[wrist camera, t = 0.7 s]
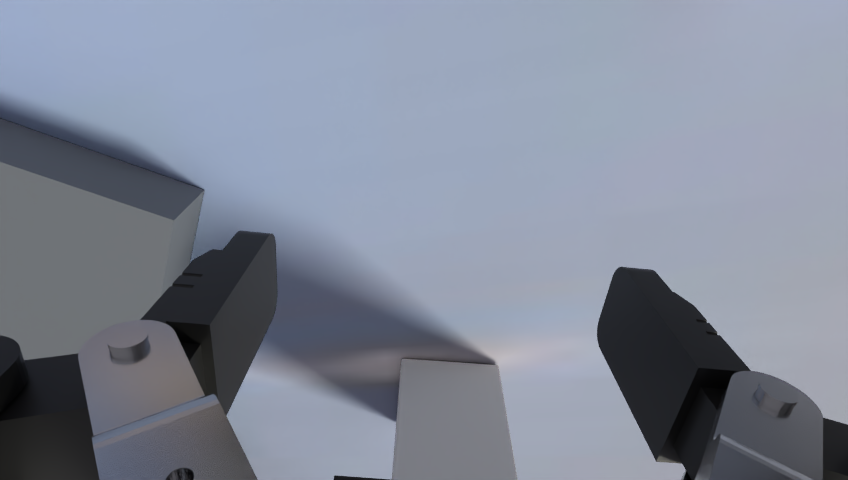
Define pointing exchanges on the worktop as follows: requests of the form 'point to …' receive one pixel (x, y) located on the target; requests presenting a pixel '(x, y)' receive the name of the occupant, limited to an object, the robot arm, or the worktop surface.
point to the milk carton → (451, 423)
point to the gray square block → (83, 240)
